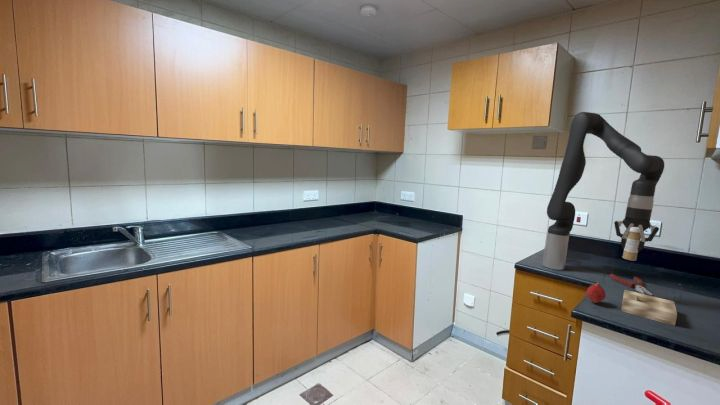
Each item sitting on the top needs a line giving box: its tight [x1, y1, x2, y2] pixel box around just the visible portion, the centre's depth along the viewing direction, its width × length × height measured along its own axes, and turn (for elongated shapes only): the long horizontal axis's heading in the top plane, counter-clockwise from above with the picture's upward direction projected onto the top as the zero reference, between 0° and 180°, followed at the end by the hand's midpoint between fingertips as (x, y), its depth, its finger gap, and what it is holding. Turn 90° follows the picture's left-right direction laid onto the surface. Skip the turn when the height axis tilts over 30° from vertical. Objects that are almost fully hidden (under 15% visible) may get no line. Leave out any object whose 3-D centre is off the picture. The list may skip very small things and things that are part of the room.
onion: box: [585, 282, 607, 304], centre depth 121 cm, size 6×6×8 cm
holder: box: [620, 289, 678, 327], centre depth 116 cm, size 14×14×4 cm
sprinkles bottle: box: [621, 227, 642, 262], centre depth 127 cm, size 5×5×14 cm
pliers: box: [609, 273, 653, 296], centre depth 140 cm, size 12×20×3 cm, turn 165°
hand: (631, 248), depth 128 cm, fingers closed on sprinkles bottle, 4 cm apart
